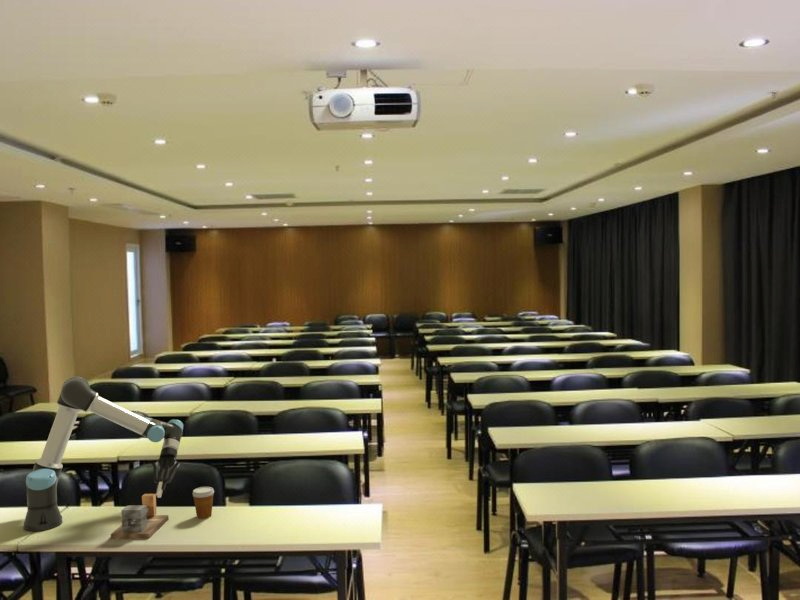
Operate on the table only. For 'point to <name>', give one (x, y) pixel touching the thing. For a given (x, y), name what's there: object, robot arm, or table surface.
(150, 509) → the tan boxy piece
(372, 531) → the table surface
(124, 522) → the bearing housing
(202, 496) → the disposable coffee cup
